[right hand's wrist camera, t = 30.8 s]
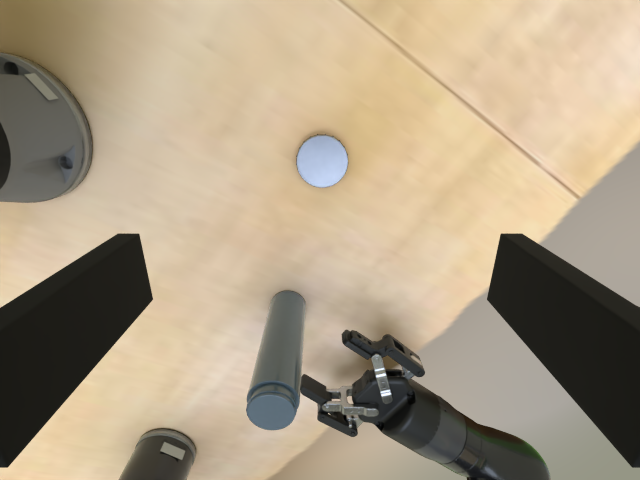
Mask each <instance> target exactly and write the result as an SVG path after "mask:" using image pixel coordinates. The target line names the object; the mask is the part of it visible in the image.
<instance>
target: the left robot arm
mask: <svg viewBox="0 0 640 480" xmlns="http://www.w3.org/2000/svg"><path fill="white" fill-rule="evenodd" d="M342 342H343V344H344V345H345V346H346V347H348V348H350V349H351V350H353V351H354V352H356V353H358V354H359V355H361V356H362V357H364V358H365V359H367V360H368V359H369V358H371V360H372V363H373V367H374V369H373V370H370V371H369V370H367V371H366V372H365V373H364V374H363V376H362V377H361V378H360V379H359V380H357V381H356V382H354V383H353V384H352V386H342V387H340V389H326V386H324V385H323V384H321V383H319V382H318V381H316V380H314V379H312V378H311V377H309V376H307V375H305V374H303V375H302V376H301V387H300V390H301V393H302V394H303V395H304V396H306V397H308V398H310V399H311V400H313V401H315V402H316V403H318V417H317V419H318V421H320V422H322V423H324V424H326V425H328V426H330V427H332V428H334V429H336V430H338V431H341V432H343V433H345V434H347V435H349V436H351V437H355V436H356V435H357V434H358V432H357V428H358V427H359V426H360V425H361V424H362V422H369V423H373V424H374V425H376V426H377V427H378V429H379V430H380V431H381V432H382V433H383V434H385V435H387V436H388V437H390V438H392V439H393V440H395V441H397V442H399V443H400V444H402V445H404V446H406V447H407V448H409V449H411V450H413V451H414V452H416V453H418V454H419V455H421V456H423V457H425V458H428V459H431V460H433V461H436V462H438V463H439V464H441V465H443V466H444V467H446V468H448V469H450V470H451V471H453V472H455V473H457V474H459V475H462V476H465V477H467V480H551V479H550V474H549V470H548V468H547V466H546V463H545V462H544V460H543V459H542V457H541V456H540V455H539V453H538V452H537V451H536V450H535V449H534V448H533V447H532V446H531V445H529V444H528V443H527V442H525V441H524V440H522V439H520V438H518V437H516V436H514V435H511V434H508V433H506V432H503V431H500V430H497V429H494V428H491V427H487V426H483V425H480V424H477V423H476V422H474V421H473V420H471V419H470V418H468V417H467V416H465V415H463V414H462V413H460V412H459V411H457V410H456V409H454V408H453V407H452V406H451V405H450V404H449V403H448V402H446V401H445V400H443V399H442V398H441V397H440V396H437V395H436V394H434V393H433V392H431V391H429V390H428V389H426V388H425V387H423V386H422V385H420V384H418V383H417V382H415V381H414V380H412V379H411V378H412V377H413V376H414V375H415V376H417V377H422V376H423V375H424V374H425V371H424V369H423V366H422V364H421V361H420V358H419V356H417V355H416V354H415V353H413V352H412V351H411V350H409V349H408V348H407V347H406V346H404V345H403V344H402V343H400V342H399V341H398V340H396V339H395V338H394V337H392V336H391V335H389V334H387V335H384V336H383V338H382V340H380V341H378V342H375V341H373V342H372V341H371V340H369V339H368V338H366V337H364V336H363V335H361V334H360V333H358V332H357V331H353V330H352V331H351V332H350V331H348V330H345V331H344V332H343V333H342ZM387 355H388V356H389V357H391V358H392V359H394V360H395V361H396V362H398V363H399V364H400V365H401V366H402V369H403V370H398V369H385V367H384V363H383V359H382V358H383V357H385V356H387ZM348 396H352V400H353V403H354V404H349V403H348V402H347V397H348ZM332 399H340V400H341V401H332ZM328 413H330V414H331V415H329V414H328ZM195 456H196V449H195V446H194V444H193V443H192V441H191V440H190V439H189V438H187V437H186V436H184V435H183V434H181V433H179V432H176V431H173V430H167V429H158V430H153V431H150V432H147V433H146V434H144V435H143V436H142V437H141V438H140V440H139V442H138V444H137V445H136V448H135V450H134V452H133V454H132V456H131V458H130V460H129V462H128V463H127V465H126V467H125V469H124V471H123V472H122V474H121V476H120V478H119V480H187V477H188V474H189V471H190V469H191V466H192V464H193V462H194V459H195Z"/></svg>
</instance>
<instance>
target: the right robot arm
mask: <svg viewBox="0 0 640 480" xmlns="http://www.w3.org/2000/svg"><path fill="white" fill-rule="evenodd" d="M91 158H92V139H91V133H90V129H89V126H88V123H87V120H86V117H85V115H84V113H83V111H82V109H81V107H80V106H79V104H78V102H77V101H76V99H75V98H74V96H73V95H72V94H71V92H70V91H69V90H68V89H67V88H66V87H65V86H64V85H63V83H62V82H61V81H59V80H58V79H57V78H56V77H55V76H54V75H53V74H51V73H50V72H49V71H47V70H46V69H44V68H43V67H41V66H40V65H38V64H36V63H34V62H32V61H30V60H28V59H25V58H23V57H20V56H16V55H12V54H7V53H1V52H0V202H21V203H32V202H42V201H47V200H50V199H53V198H56V197H59V196H62V195H64V194H66V193H68V192H70V191H72V190H73V189H74V188H76V187H77V186H78V185H79V184H80V183H81V181H82V180H83V179H84V177H85V176H86V174H87V172H88V169H89V166H90V163H91ZM152 300H153V297H152V292H151V288H150V283H149V278H148V273H147V269H146V264H145V259H144V254H143V250H142V245H141V240H140V235H139V234H117V235H115V236H114V237H112V238H110V239H109V240H107V241H106V242H104V243H103V244H101V245H99V246H98V247H96V248H95V249H93V250H91V251H90V252H88V253H87V254H85V255H84V256H82V257H80V258H79V259H77V260H76V261H74V262H72V263H71V264H69V265H68V266H66V267H65V268H63V269H61V270H60V271H58V272H57V273H55V274H53V275H52V276H50V277H49V278H47V279H45V280H44V281H42V282H41V283H39V284H38V285H36V286H34V287H33V288H31V289H30V290H28V291H26V292H25V293H23V294H22V295H20V296H19V297H17V298H15V299H14V300H12V301H11V302H9V303H7V304H6V305H4V306H3V307H1V308H0V467H9V465H10V464H11V463H12V462H13V461H14V460H15V458H16V457H17V456H18V455H19V454H20V453H21V451H22V450H23V449H24V448H25V447H26V446H27V445H28V443H29V442H30V441H31V440H32V439H33V438H34V436H35V435H36V434H37V433H38V432H39V431H40V430H41V428H42V427H43V426H44V425H45V424H46V423H47V421H48V420H49V419H50V418H51V417H52V416H53V414H54V413H55V412H56V411H57V410H58V409H59V408H60V406H61V405H62V404H63V403H64V402H65V401H66V399H67V398H68V397H69V396H70V395H71V394H72V393H73V391H74V390H75V389H76V388H77V387H78V386H79V384H80V383H81V382H82V381H83V380H84V379H85V377H86V376H87V375H88V374H89V373H90V372H91V371H92V369H93V368H94V367H95V366H96V365H97V364H98V362H99V361H100V360H101V359H102V358H103V357H104V356H105V354H106V353H107V352H108V351H109V350H110V349H111V347H112V346H113V345H114V344H115V343H116V342H117V340H118V339H119V338H120V337H121V336H122V335H123V334H124V332H125V331H126V330H127V329H128V328H129V327H130V325H131V324H132V323H133V322H134V321H135V320H136V319H137V317H138V316H139V315H140V314H141V313H142V312H143V310H144V309H145V308H146V307H147V306H148V305H149V303H150V302H151V301H152ZM487 300H488V301H489V302H490V303H491V305H492V306H493V307H494V308H495V309H496V310H497V312H498V313H499V314H500V315H501V316H502V317H503V318H504V320H505V321H506V322H507V323H508V324H509V325H510V327H511V328H512V329H513V330H514V331H515V332H516V334H517V335H518V336H519V337H520V338H521V339H522V340H523V342H524V343H525V344H526V345H527V346H528V347H529V349H530V350H531V351H532V352H533V353H534V354H535V356H536V357H537V358H538V359H539V360H540V361H541V362H542V364H543V365H544V366H545V367H546V368H547V369H548V371H549V372H550V373H551V374H552V375H553V376H554V377H555V379H556V380H557V381H558V382H559V383H560V384H561V386H562V387H563V388H564V389H565V390H566V391H567V393H568V394H569V395H570V396H571V397H572V398H573V399H574V401H575V402H576V403H577V404H578V405H579V406H580V408H581V409H582V410H583V411H584V412H585V413H586V414H587V416H588V417H589V418H590V419H591V420H592V421H593V423H594V424H595V425H596V426H597V427H598V428H599V430H600V431H601V432H602V433H603V434H604V435H605V436H606V438H607V439H608V440H609V441H610V442H611V443H612V445H613V446H614V447H615V448H616V449H617V450H618V451H619V453H620V454H621V455H622V456H623V457H624V458H625V460H626V461H627V462H628V463H629V464H630V465H631V466H632V467H640V307H638V306H636V305H634V304H632V303H631V302H629V301H628V300H626V299H625V298H623V297H621V296H620V295H618V294H617V293H615V292H614V291H612V290H610V289H609V288H607V287H606V286H604V285H602V284H601V283H599V282H598V281H596V280H595V279H593V278H591V277H590V276H588V275H587V274H585V273H583V272H582V271H580V270H579V269H577V268H575V267H574V266H572V265H571V264H569V263H568V262H566V261H564V260H563V259H561V258H560V257H558V256H556V255H555V254H553V253H552V252H550V251H549V250H547V249H545V248H544V247H542V246H541V245H539V244H537V243H536V242H534V241H533V240H531V239H530V238H528V237H526V236H525V235H523V234H501V235H500V240H499V245H498V250H497V254H496V259H495V264H494V269H493V273H492V278H491V283H490V288H489V292H488V297H487Z"/></svg>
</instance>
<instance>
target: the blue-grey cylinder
mask: <svg viewBox="0 0 640 480" xmlns="http://www.w3.org/2000/svg"><path fill="white" fill-rule="evenodd" d="M305 315H306V303H305V300H304V299H303V297H302V296H301V295H299V294H298V293H296V292H293V291H282V292H279V293H278V294H276V295H275V296H274V297H273V298H272V300H271V303H270V307H269V311H268V315H267V319H266V323H265V327H264V331H263V335H262V339H261V343H260V347H259V351H258V355H257V359H256V363H255V367H254V371H253V375H252V379H251V383H250V387H249V391H248V395H247V409H246V411H247V416H248V417H249V419H250V420H251V422H252V423H253V424H255V425H256V426H258V427H260V428H262V429H265V430H279V429H282V428H285V427H287V426H288V425H290V424H291V422H292V421H293V420H294V417H295V415H296V412H297V408H298V406H299V402H300V387H301V373H302V359H303V344H304V330H305Z"/></svg>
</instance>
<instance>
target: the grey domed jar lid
mask: <svg viewBox="0 0 640 480" xmlns="http://www.w3.org/2000/svg"><path fill="white" fill-rule="evenodd" d="M347 156H348V154H347V153H346V150H345V147H344V146H343V145H342V144H341V143H340V140H339V141H338V140H337V139H336V138H334V137H333V136H329V135H326V134H320V135H318V134H317V135H315V136H312V137H310V138H309V139H307V140H306V141H304V142H303V144H302V146H301V148H299V152H298V155H297V156H296V157H297V163H296V165H297V168H298V172H299V174H300V175H301V177H302V178H303V179H304V180H305V181H306V182H307V183H309V184H310V185H312V186H315V187H323V188H324V187H329V186H332V185H334V184H336V183H337V182H339V181H340V180H341V179H342V178H343V176H344V174H345V172H346V171H347V166H348V157H347Z"/></svg>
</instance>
